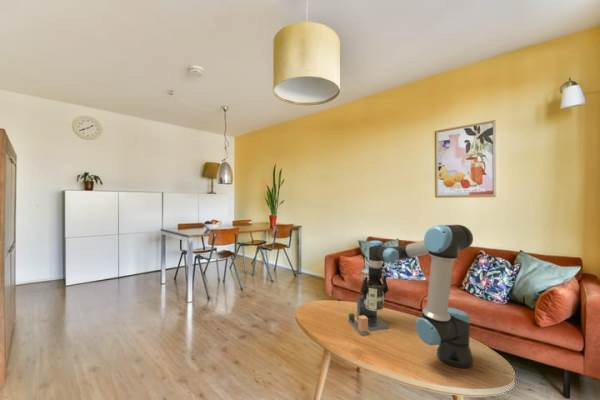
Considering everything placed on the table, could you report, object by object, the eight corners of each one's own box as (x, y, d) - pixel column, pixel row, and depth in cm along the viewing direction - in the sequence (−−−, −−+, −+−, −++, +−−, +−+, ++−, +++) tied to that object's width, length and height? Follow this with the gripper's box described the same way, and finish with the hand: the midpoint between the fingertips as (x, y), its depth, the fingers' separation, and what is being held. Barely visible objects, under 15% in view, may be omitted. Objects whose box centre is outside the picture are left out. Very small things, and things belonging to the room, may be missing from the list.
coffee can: (380, 304, 171) (380, 281, 171) (385, 311, 161) (385, 287, 161) (363, 304, 172) (364, 281, 171) (367, 310, 161) (367, 286, 161)
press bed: (388, 328, 162) (388, 304, 162) (369, 331, 159) (370, 306, 159) (374, 317, 178) (374, 295, 177) (357, 319, 175) (357, 296, 174)
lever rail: (366, 335, 154) (367, 326, 154) (361, 335, 153) (362, 326, 153) (353, 321, 171) (353, 313, 171) (348, 321, 170) (348, 313, 170)
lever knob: (367, 330, 154) (368, 318, 154) (361, 331, 153) (361, 319, 153) (364, 327, 158) (364, 315, 158) (357, 328, 157) (358, 316, 157)
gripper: (388, 264, 173) (387, 300, 173) (354, 266, 167) (354, 302, 167) (395, 267, 165) (394, 304, 166) (360, 269, 159) (359, 307, 160)
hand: (374, 303), depth 166 cm, fingers closed on coffee can, 10 cm apart
